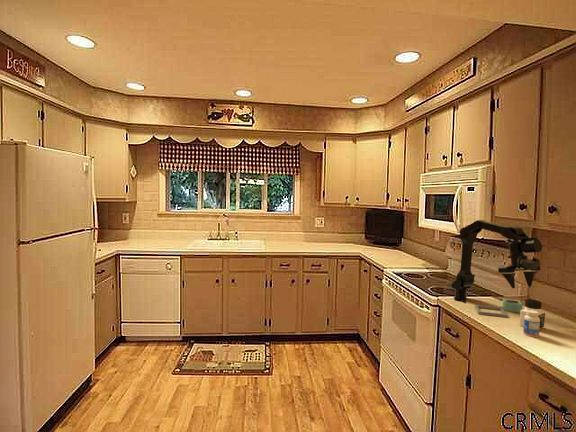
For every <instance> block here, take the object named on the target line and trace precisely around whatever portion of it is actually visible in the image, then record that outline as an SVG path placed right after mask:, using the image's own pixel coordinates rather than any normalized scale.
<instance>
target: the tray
mask: <svg viewBox="0 0 576 432" xmlns="http://www.w3.org/2000/svg"><path fill="white" fill-rule="evenodd" d="M474 308H475V310H476V313H477V315H481V316H490V317H496V318H497V317H499V318H506V319H507V318H508V313H507V311H504V310H503V308H502V307H501V306H498V307H497V306H490V305H480V304H474ZM480 309H482V310H483V309H484V310H485V309H486V310H490V311H481V310H480ZM491 310H492V311H500V313H498V312H491Z"/></svg>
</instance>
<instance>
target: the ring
mask: <svg viewBox="0 0 576 432" xmlns="http://www.w3.org/2000/svg"><path fill="white" fill-rule="evenodd" d="M509 300H510V299H508V298H507V299H506V298H503V299H502V305H501V306H502V307H503V308H504V309H505V312H509V311H513V312H512V313H518V312H520V311H521V310H522V309H523V303H522V302H521V301H520V300H517V299H514V300H515V301H518V303H509ZM502 307H501V308H502Z"/></svg>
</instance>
